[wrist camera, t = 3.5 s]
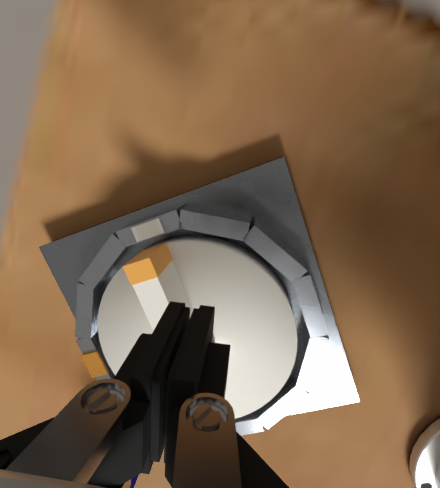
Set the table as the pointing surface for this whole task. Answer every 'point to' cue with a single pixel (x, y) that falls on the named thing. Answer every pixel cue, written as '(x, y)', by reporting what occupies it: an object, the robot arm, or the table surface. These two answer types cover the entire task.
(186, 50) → the table surface
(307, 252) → the panel
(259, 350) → the dial
